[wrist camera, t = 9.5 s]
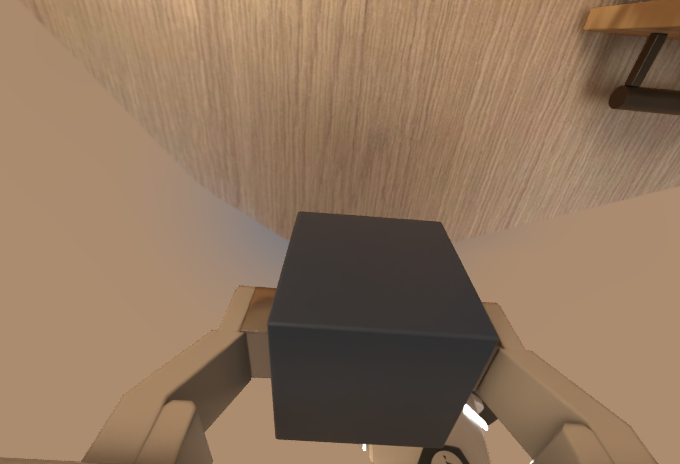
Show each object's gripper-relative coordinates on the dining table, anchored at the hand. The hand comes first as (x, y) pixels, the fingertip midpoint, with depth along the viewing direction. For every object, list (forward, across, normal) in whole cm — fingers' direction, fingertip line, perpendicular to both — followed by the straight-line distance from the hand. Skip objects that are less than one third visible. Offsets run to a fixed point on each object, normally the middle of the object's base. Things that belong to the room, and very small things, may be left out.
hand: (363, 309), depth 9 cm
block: (+2, 0, 0) cm, 2 cm away
